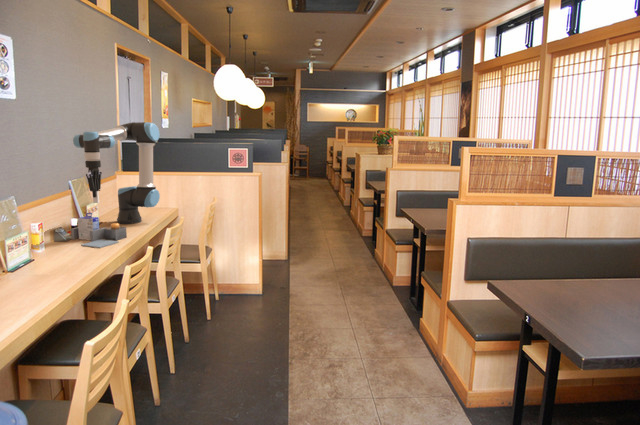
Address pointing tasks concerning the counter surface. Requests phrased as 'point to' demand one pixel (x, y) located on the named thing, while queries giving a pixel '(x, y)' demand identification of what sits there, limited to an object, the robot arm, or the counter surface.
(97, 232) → the cartridge holder
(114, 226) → the plunger
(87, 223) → the ink cartridge box
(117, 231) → the block
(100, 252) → the counter surface
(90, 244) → the rubber mat
